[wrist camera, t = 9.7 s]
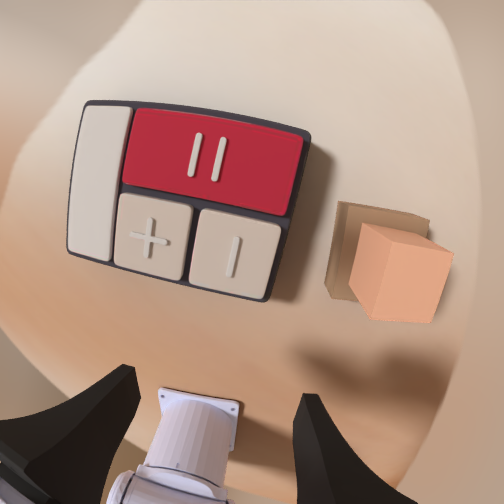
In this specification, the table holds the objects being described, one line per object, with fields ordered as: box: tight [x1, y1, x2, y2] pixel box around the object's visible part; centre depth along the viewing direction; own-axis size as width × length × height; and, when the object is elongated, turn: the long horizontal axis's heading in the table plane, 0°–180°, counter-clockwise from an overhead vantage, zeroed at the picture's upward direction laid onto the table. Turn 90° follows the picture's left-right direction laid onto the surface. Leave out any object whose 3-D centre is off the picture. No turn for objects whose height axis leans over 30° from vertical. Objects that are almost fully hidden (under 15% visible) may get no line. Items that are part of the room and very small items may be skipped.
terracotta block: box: [349, 223, 454, 323], centre depth 14 cm, size 4×4×4 cm
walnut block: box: [324, 201, 430, 301], centre depth 18 cm, size 6×6×3 cm
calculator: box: [66, 100, 311, 302], centre depth 17 cm, size 11×4×15 cm
